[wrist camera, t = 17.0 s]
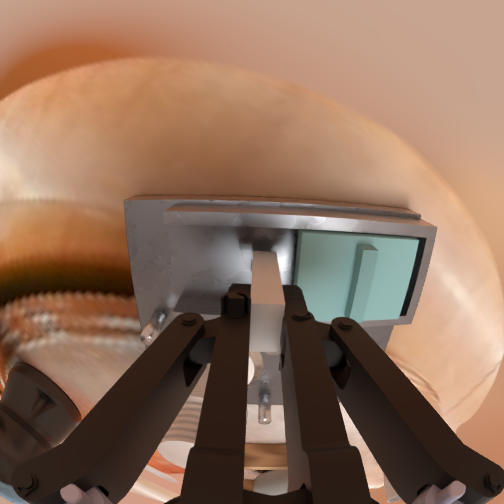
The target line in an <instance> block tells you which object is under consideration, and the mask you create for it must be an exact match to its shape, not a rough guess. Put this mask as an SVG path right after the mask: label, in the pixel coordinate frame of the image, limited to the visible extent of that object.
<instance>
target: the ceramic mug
mask: <svg viewBox="0 0 504 504" xmlns="http://www.w3.org/2000/svg"><path fill="white" fill-rule="evenodd" d="M287 489H288V469H284V470H271V471H267V472H265V473H262V474H260V475H259V476H257V477H256V479H255V480H254V482H253V492H258V493H262V494H267V495H280V494H284V493H287Z"/></svg>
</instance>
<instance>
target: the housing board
mask: <svg viewBox="0 0 504 504" xmlns="http://www.w3.org/2000/svg"><path fill="white" fill-rule="evenodd" d="M124 209H125V222H126V233H127V243H128V251H129V259H130V267H131V274H132V280H133V287H134V293H135V298H136V304H137V309H138V314H139V319H140V324H141V329H142V333H141V335H140V339H141V341H142V342H143V343H144V344H145V347H146V349H147V348H148V347H149V346H150V345H151V344H152V342H153V341H154V340H155V339H156V338H157V337H158V336H159V335H160V334H161V333H162V332H163V330H164V329H165V328H166V327H167V326H168V325H169V324H170V323H171V322H172V321H173V320H174V319H175V317H177V316H178V315H180V314H183V313H188V312H192V313H197V314H200V315H201V316H202V317H203V318H204V320H211V319H215V318H218V317H219V316H221V296H222V295H223V294H225V293H227V292H228V289H229V287H230V286H231V285H232V284H233V283H238V284H251V280H252V261H253V251H271V252H276V253H277V259H278V264H279V270H280V276H281V282H282V285H293V282H294V273H295V263H296V253H297V242H298V230H299V229H310V230H328V231H344V232H359V233H374V234H388V235H401V236H413V237H414V238H416V239H418V240H419V243H418V248H417V253H416V257H415V261H414V266H413V270H412V274H411V278H410V281H409V285H408V289H407V292H406V296H405V299H404V303H403V306H402V309H401V312H400V315H399V319H389V320H367V321H362V323H358V324H359V325H360V326H361V327H362V328H363V329H364V330H365V331H366V332H367V333H368V334H369V336H370V337H371V338H372V339H373V340H374V341H375V342H376V343H377V344H378V345H379V347H380V348H381V349H382V350H383V351H384V352H385V349H386V346H387V344H388V341H389V338H390V335H391V332H392V330H393V327H394V325H404V324H411V323H412V320H413V317H414V314H415V311H416V308H417V305H418V302H419V299H420V296H421V292H422V289H423V286H424V282H425V278H426V275H427V271H428V267H429V263H430V259H431V255H432V251H433V246H434V241H435V237H436V232H437V227H436V226H434V225H432V224H430V223H428V222H426V221H424V220H422V219H421V215H420V214H418V213H416V212H414V211H412V210H409V209H403V208H395V207H386V206H377V205H367V204H357V203H347V202H335V201H322V200H309V199H293V198H275V197H251V196H214V195H154V196H134V197H131V198H129V199H126V200H124ZM318 322H322V323H326V324H331V321H318ZM280 354H281V347H280V352H251V351H249V355H250V357H251V359H252V361H253V363H254V376H253V378H252V380H251V382H250V383H249V384H248V390H247V404H257V405H258V422H259V423H260V424H269V423H271V405H283V393H282V381H281V371H278V368H279V361H280ZM337 398H338V397H337ZM338 402H340V400H339V398H338Z"/></svg>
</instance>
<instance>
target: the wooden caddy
mask: <svg viewBox="0 0 504 504" xmlns="http://www.w3.org/2000/svg"><path fill="white" fill-rule="evenodd" d="M244 469H253V470H284V469H288V466H287V450H286V444H246V443H245V459H244ZM253 482H254V480H244V482H243V489H245V490H249V491H253Z"/></svg>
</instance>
